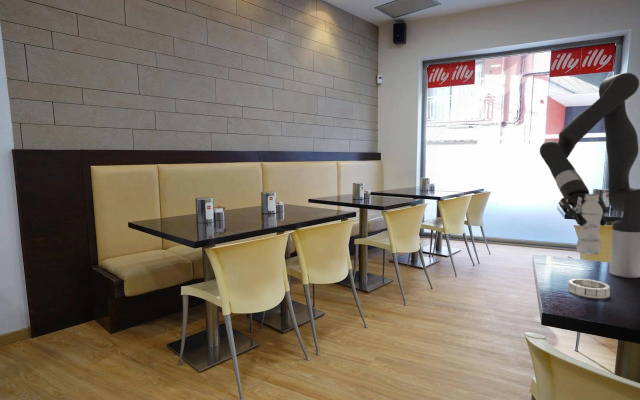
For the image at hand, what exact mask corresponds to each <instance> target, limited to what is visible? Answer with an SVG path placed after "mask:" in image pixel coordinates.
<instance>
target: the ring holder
mask: <svg viewBox="0 0 640 400" xmlns="http://www.w3.org/2000/svg"><path fill="white" fill-rule="evenodd" d="M567 291H568V292H569V293H570V294H573V295H575V296H578V297H583V298H587V299H595V300H597V299H599V300H602V299H608V298H610V296H611V294H610V293H611V287H610V285H609V284H607V283H605V282H602V281H598V280H595V279H587V278H572V279H569V280H568V286H567Z"/></svg>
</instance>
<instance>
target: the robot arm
mask: <svg viewBox="0 0 640 400" xmlns="http://www.w3.org/2000/svg"><path fill="white" fill-rule="evenodd" d="M639 87H640V80H639V78H638V77H637V75H635V74H634V73H632V72H622V73H619V74H615V75H612V76H608V77H607V78H605V79H603V81H601V82H600V84H599V88H598V95H599V98H598V99H597V100H596V101H595V102H593V104H591V105H589V107H587V108H585V110H582V112H580V113H579V114H577V116H575V117H574V118H573V119H571V120H570V121H569V123H568V124H567V125H566V126H565V127H563V129H561V131H560V132H559V134H558V142H557V141H555V140H547V141H545V142H544V143H542V144H541V146H540V147H539V154H540V156H541V158H542V159H543V160H544V162H545V164H546V165H547V167H548V169H549V171H550V172H551V175H552V177H553V179H554V181H555V183H556V185H557V188H558V190H559V192H560V193H561V196H562V198H561V199H560V200H559V202H558V205H559V207H560V208H561V209H562V211H563V213H564V214H565V215H566V216H567V217H569V216H571V217H572V218H574V220H575V222H576V223H577V225H578V226H579V227H580V226H583V225H584V224H585V220H584V218H583V217H582V215H581V214H579V213H580V211H579V208H580V206H581V205H582V204H583V203H584V202H585V200H584V198H585V194H590V191H589V189H588V187H587V185H586V184H585V182H584V181H583V178H582V177H581V175H579V173H578V172H577V171H576V169H575V167H574V166H573V164H572V163H571V162H570V160H569V159H568V158H569V156H570V155H571V153H572V152H573V151H574V148H575V146H576V145H577V143H579V142H580V141H581V140H582V139H583V138H584V137H585V136H586V135H587V134H588V133H589V132H591V130H592V129H593V128H594V127H595V126H596V125H597V124H598V123H599V122H600V121H601V120H603V122H604V132H605V146H606V155H607V165H608V166H607V167H608V193H607V194H608V202H609V203H608V204H609V205H610V207H611V209H613V210H615V211H618V212H622V217H621V219H619V220H615V221H613V222H612V227H611V241H610V242H611V243H610V256H609V257H610V259H609V271H608V272H609V274H611V275H613V276H617V277H622V278H628V279H629V278H630V279H631V278H632V279H638V278H640V188H635V187H634V188H632V187H630V177H629V176H630V172H631V169H632V167H633V165H634V163H635V161H636V159H637V157H638V154H639V142H638V141H639V138H638V133H637V130H636V128H635V127H634V125H633V123H632V122H631V120H630V118H629V117H628V114H627V110H626V101H627V100H628V99H630V98H631V97H632V96H633V95H634V94H636V92H637V91H638V89H639ZM598 203H599V205H600V206H601V207H602V210H603V214H602V219H601V223H600V227H603V226H605V225H606V224H607V223H608V220H607V219H606V217H605V214H607V212H608V208H607V206H606V204H605V202H604V200H603V198H602V197H600V196H599V200H598Z"/></svg>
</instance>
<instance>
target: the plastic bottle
mask: <svg viewBox="0 0 640 400" xmlns="http://www.w3.org/2000/svg"><path fill="white" fill-rule="evenodd" d="M599 197H600V195H599V194H596V193H594V194H593V193H589V194H585V198H584V200H585V202H584V203H583V204H582V205H581V206H580V208H579V211H580V213H579V214H581V215H582V217H583V218H584V220H585V224H584V225H583V226H580V225H579V232H578V239H577V241H576V251H577V252H578V253H580V254H583V255H588V256H592V255H599V254H600V253H601V250H602V243H601V241H600V240H601V234H600V233H601V225H600V223H601V219H602V214H603V209H602V207H601V206H600V205H599V203H598V200H599Z"/></svg>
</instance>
